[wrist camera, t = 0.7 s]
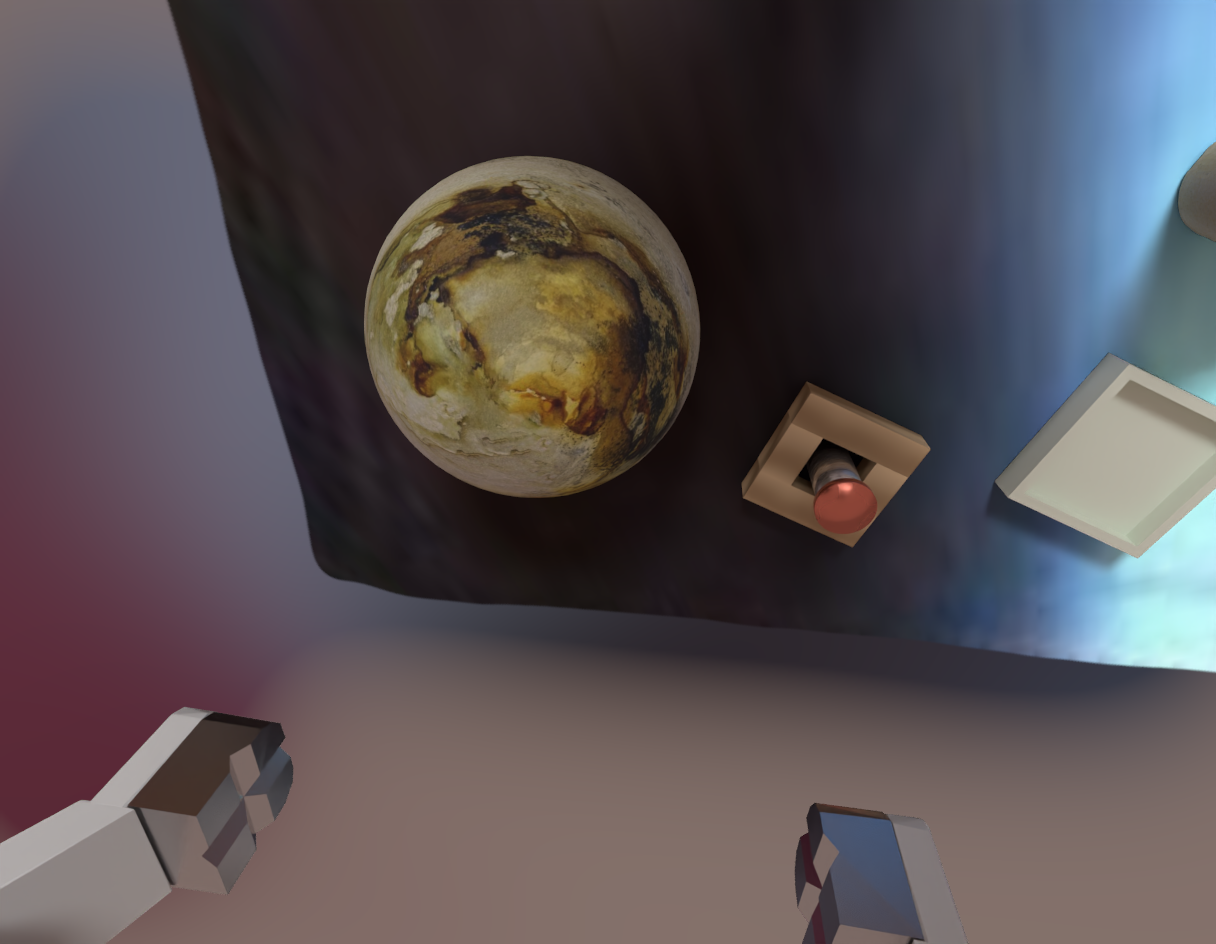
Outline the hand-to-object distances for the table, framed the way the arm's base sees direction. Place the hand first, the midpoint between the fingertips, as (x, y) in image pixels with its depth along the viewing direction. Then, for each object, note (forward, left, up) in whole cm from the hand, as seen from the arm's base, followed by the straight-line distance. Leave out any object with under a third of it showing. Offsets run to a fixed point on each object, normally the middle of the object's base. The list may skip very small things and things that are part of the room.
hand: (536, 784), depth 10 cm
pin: (+8, +18, -41) cm, 46 cm away
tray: (-2, +36, -41) cm, 55 cm away
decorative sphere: (+5, -6, -41) cm, 42 cm away
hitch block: (+8, +18, -41) cm, 46 cm away
